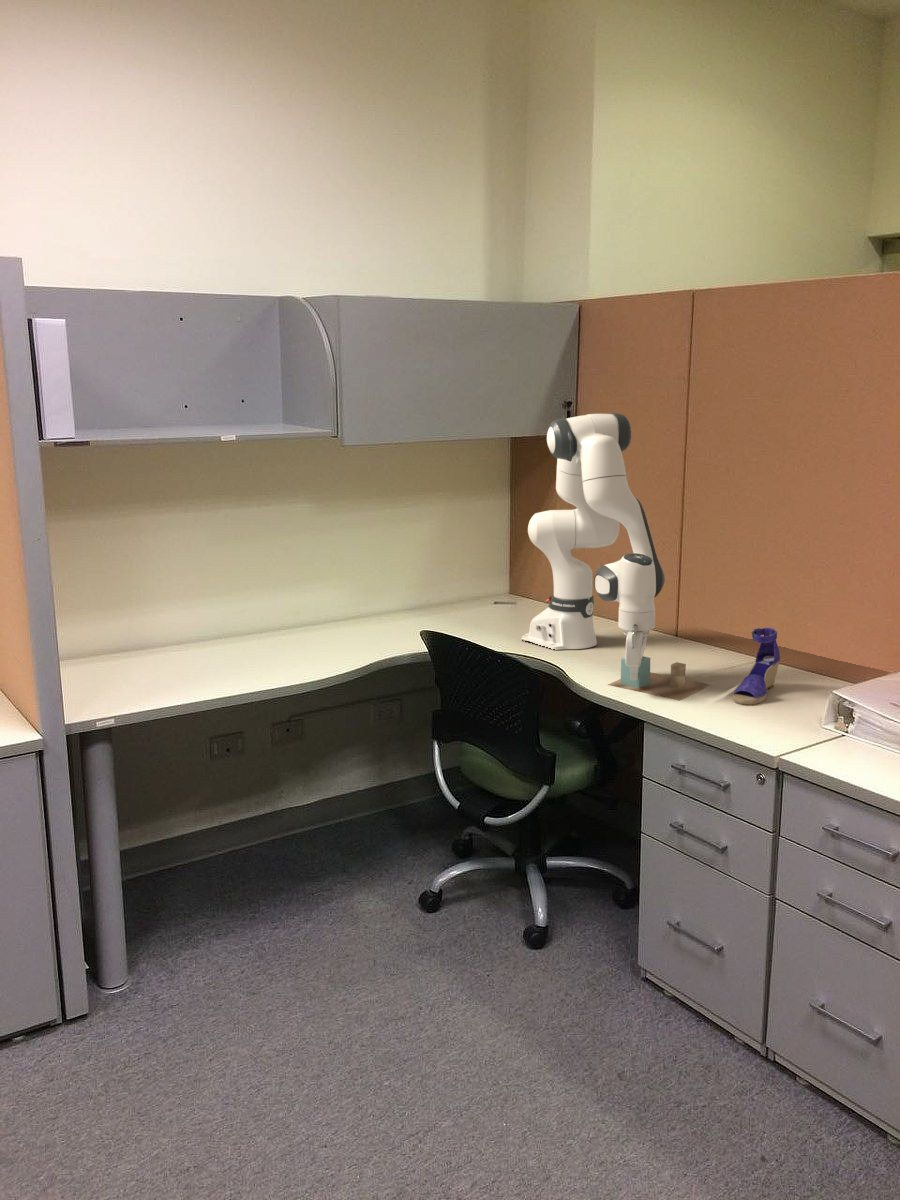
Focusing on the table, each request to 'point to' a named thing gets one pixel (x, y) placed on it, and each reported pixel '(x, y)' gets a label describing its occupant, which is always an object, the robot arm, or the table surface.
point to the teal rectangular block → (642, 674)
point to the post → (678, 674)
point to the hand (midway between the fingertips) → (635, 674)
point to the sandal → (760, 669)
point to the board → (665, 687)
